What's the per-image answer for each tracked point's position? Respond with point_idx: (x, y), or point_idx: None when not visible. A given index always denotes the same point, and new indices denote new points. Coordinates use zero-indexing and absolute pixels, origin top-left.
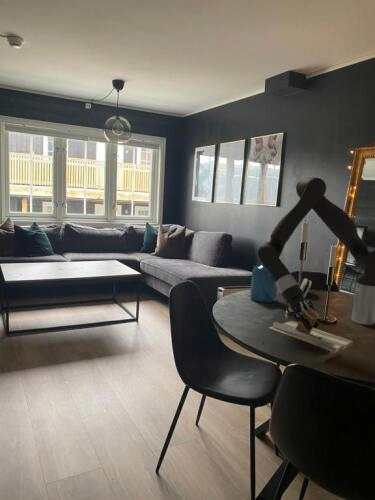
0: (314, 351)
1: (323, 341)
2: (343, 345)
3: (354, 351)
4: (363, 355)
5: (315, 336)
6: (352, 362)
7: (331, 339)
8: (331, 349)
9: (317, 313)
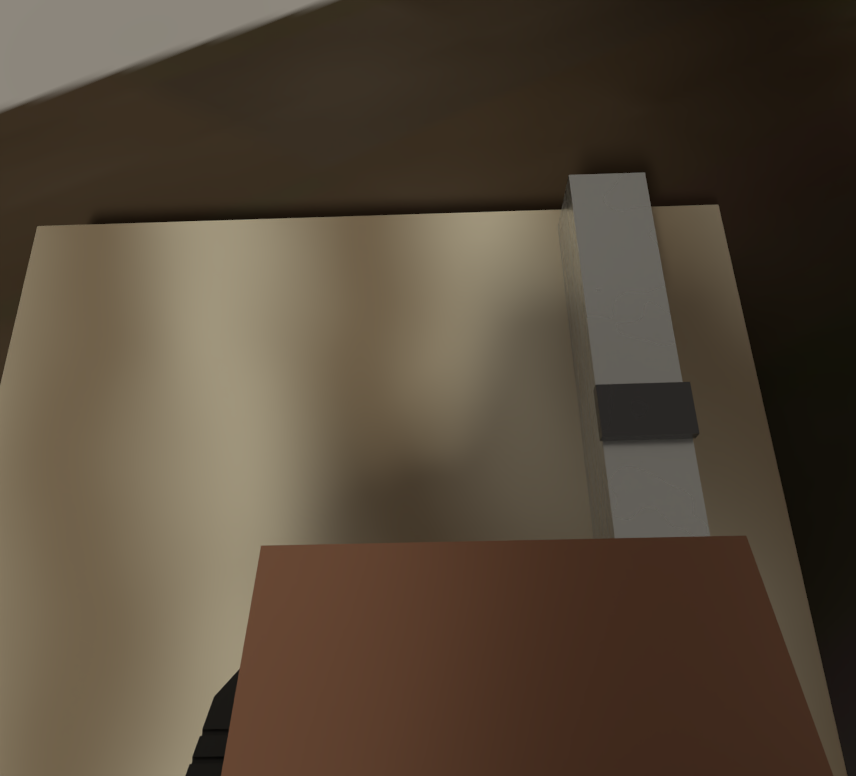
0: (819, 413)
1: (664, 330)
2: (339, 217)
3: (276, 157)
4: (308, 63)
5: (643, 513)
6: (624, 37)
7: (253, 433)
8: (663, 221)
9: (270, 651)
